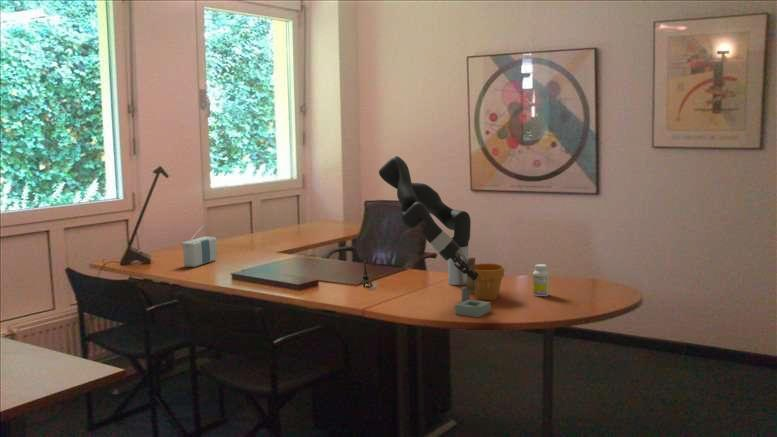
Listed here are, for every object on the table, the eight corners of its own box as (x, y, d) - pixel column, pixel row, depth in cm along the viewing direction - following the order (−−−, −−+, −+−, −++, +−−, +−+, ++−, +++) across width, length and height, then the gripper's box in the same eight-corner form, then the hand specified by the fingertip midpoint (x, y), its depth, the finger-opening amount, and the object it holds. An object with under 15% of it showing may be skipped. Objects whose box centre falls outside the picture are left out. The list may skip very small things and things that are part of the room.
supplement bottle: (538, 292, 317) (538, 262, 315) (552, 294, 312) (552, 264, 311) (529, 295, 313) (529, 265, 311) (543, 298, 308) (543, 267, 306)
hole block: (467, 307, 295) (467, 299, 295) (490, 311, 289) (490, 302, 289) (455, 313, 287) (455, 305, 286) (478, 317, 281) (478, 308, 281)
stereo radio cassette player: (194, 268, 386) (192, 230, 384) (181, 267, 390) (179, 229, 387) (218, 260, 406) (216, 224, 403) (205, 259, 409) (203, 223, 406)
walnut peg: (469, 292, 289) (469, 256, 287) (476, 293, 288) (476, 257, 285) (465, 294, 287) (465, 258, 285) (472, 295, 285) (472, 259, 283)
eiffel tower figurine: (372, 291, 329) (372, 261, 327) (350, 290, 332) (350, 260, 330) (381, 283, 343) (381, 255, 341) (360, 282, 346) (360, 254, 344)
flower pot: (503, 301, 303) (503, 270, 301) (468, 301, 306) (468, 270, 304) (504, 293, 317) (504, 263, 315) (471, 292, 319) (470, 263, 317)
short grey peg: (464, 303, 302) (463, 286, 301) (471, 304, 300) (470, 287, 299) (460, 305, 300) (460, 288, 299) (467, 306, 298) (467, 289, 297)
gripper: (440, 248, 294) (471, 280, 293) (435, 255, 281) (467, 288, 280) (454, 235, 292) (485, 267, 292) (449, 242, 279) (481, 275, 278)
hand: (476, 277), depth 286 cm, fingers closed on walnut peg, 3 cm apart
